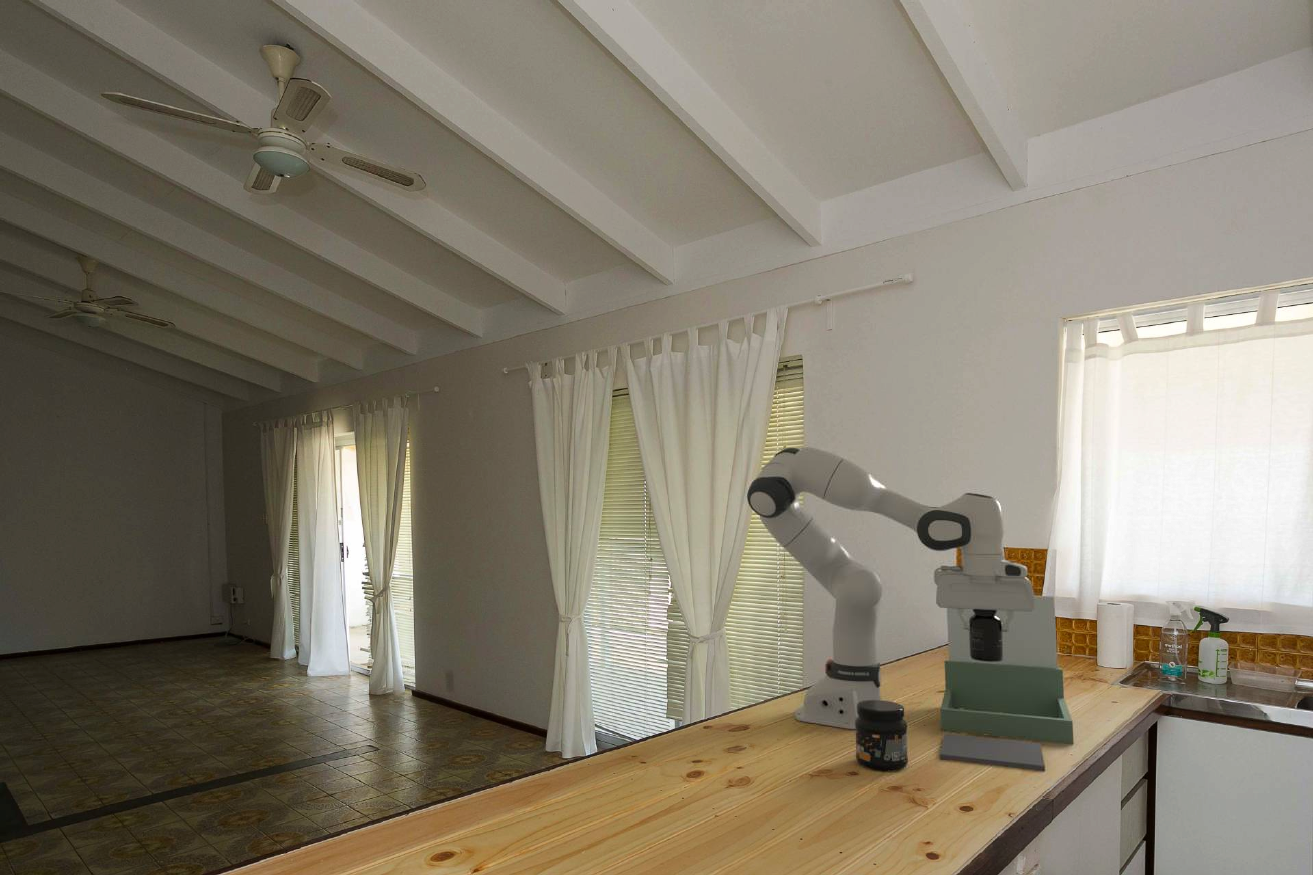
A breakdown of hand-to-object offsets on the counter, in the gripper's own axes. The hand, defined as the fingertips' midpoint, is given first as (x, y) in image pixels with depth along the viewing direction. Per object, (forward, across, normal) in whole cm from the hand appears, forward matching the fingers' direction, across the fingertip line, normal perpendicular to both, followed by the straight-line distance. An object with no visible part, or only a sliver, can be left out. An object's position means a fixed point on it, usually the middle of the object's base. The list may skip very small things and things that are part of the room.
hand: (985, 630), depth 171 cm
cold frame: (+26, +3, +26) cm, 37 cm away
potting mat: (+26, 0, 0) cm, 26 cm away
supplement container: (+26, -21, -16) cm, 37 cm away
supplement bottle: (+7, 0, +1) cm, 7 cm away
